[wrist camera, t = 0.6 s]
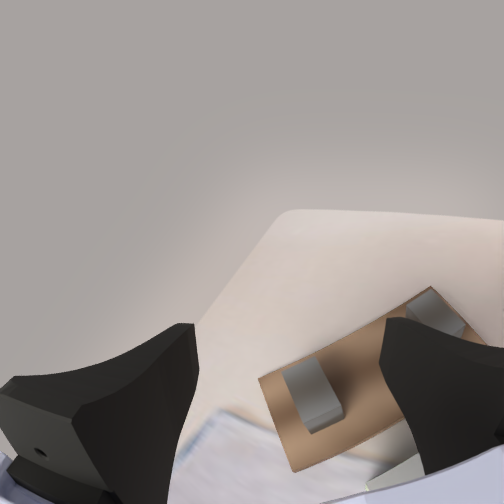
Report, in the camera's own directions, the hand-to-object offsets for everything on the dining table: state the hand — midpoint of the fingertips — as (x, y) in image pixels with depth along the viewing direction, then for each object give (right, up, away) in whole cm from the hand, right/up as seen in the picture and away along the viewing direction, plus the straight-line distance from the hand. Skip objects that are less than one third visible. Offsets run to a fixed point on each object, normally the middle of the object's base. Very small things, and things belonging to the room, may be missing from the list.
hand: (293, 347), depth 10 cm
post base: (+10, -8, +13) cm, 18 cm away
